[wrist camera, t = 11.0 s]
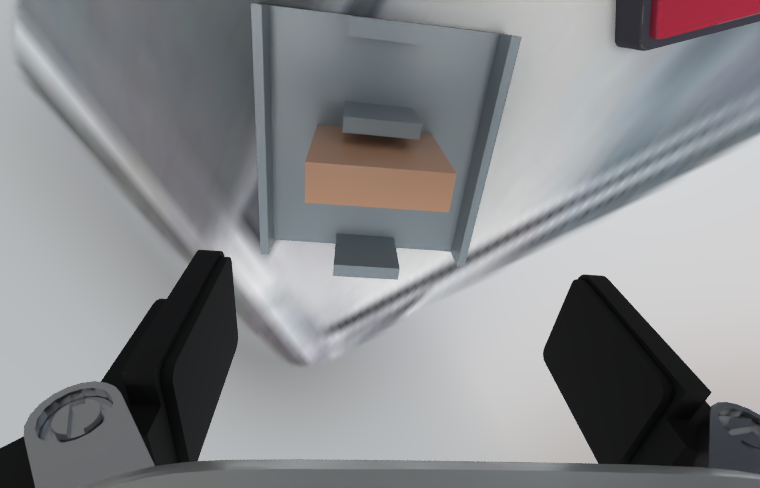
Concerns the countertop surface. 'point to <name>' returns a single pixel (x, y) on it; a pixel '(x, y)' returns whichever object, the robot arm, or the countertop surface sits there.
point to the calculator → (678, 20)
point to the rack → (373, 124)
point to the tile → (377, 171)
